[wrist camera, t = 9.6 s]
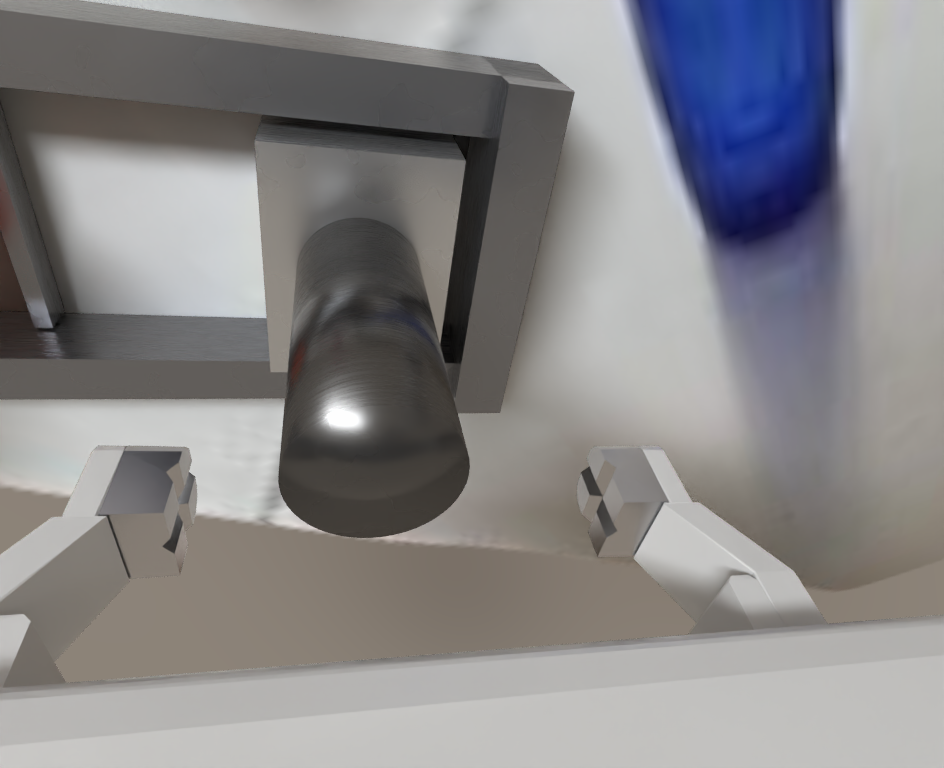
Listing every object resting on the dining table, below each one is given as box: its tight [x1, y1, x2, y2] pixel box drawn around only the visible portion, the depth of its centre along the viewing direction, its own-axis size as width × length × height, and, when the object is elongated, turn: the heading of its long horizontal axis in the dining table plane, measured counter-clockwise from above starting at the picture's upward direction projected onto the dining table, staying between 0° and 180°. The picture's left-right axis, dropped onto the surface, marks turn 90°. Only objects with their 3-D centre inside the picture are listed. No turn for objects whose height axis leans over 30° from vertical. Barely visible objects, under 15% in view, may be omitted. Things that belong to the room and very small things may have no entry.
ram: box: [254, 115, 470, 538], centre depth 18 cm, size 6×8×13 cm
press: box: [0, 0, 575, 413], centre depth 17 cm, size 30×12×8 cm, turn 82°
